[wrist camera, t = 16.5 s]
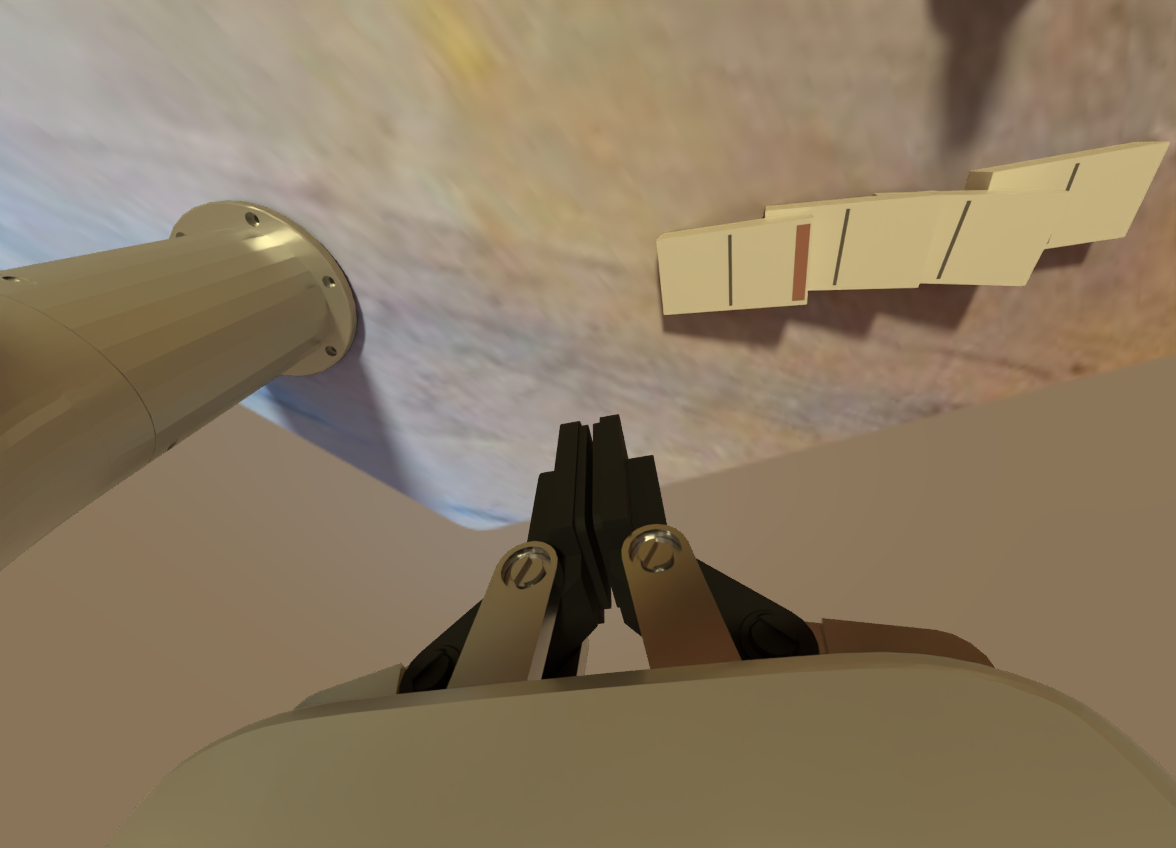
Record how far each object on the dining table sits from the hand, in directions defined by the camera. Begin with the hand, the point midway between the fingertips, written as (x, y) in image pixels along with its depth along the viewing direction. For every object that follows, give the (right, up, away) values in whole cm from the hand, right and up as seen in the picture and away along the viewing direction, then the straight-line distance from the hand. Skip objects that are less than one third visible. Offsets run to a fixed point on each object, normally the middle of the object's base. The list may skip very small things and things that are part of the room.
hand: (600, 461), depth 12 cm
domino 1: (+5, +11, +17) cm, 21 cm away
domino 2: (+11, +13, +16) cm, 23 cm away
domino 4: (+24, +14, +15) cm, 31 cm away
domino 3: (+18, +13, +15) cm, 27 cm away
